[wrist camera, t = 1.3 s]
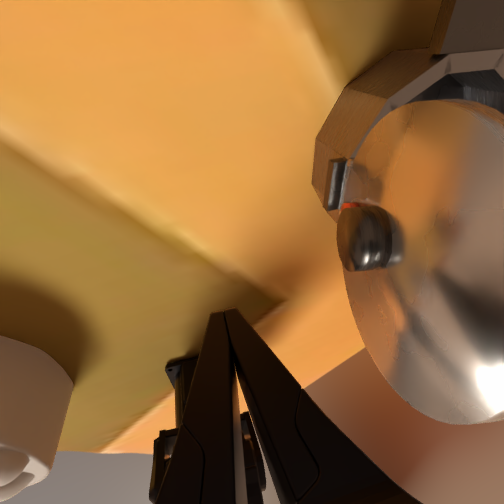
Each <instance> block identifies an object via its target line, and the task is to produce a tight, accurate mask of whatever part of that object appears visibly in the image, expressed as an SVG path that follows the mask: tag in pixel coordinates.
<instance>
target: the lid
mask: <svg viewBox="0 0 504 504" xmlns="http://www.w3.org/2000/svg"><path fill="white" fill-rule="evenodd" d="M337 246H338V252H339V256H340V259H341V261H342V266H343V273H344V280H345V285H346V290H347V294H348V298H349V303H350V306H351V309H352V313H353V316H354V319H355V322H356V325H357V328H358V330H359V332H360V335H361V337H362V340H363V342H364V344H365V346H366V348H367V350H368V352H369V354H370V356H371V358H372V359H373V361H374V363H375V364H376V366H377V367H378V369H379V371H380V372H381V374H382V375H383V377H384V378H385V379H386V380H387V382H388V383H389V384H390V386H391V387H392V388H393V389H394V390H395V391H396V392H397V393H398V394H399V395H400V396H401V397H402V398H403V399H404V400H405V401H406V402H408V403H409V404H410V405H411V406H412V407H414V408H415V409H417V410H418V411H420V412H421V413H423V414H424V415H426V416H428V417H431V418H433V419H435V420H437V421H441V422H445V423H449V424H477V423H486V422H496V421H500V420H504V114H503V113H501V112H499V111H498V110H496V109H494V108H491V107H489V106H486V105H484V104H481V103H478V102H475V101H469V100H463V99H443V100H429V101H416V102H412V103H409V104H405V105H402V106H400V107H398V108H397V109H395V110H393V111H391V112H390V113H388V114H387V115H386V116H385V117H383V118H382V119H381V120H380V121H379V122H378V123H377V124H376V125H375V126H374V127H373V128H372V130H371V131H370V133H369V134H368V135H367V137H366V138H365V140H364V141H363V143H362V145H361V147H360V149H359V150H358V153H357V155H356V157H355V158H354V157H353V158H349V159H348V162H347V168H346V174H345V180H344V185H343V191H342V197H341V203H340V209H339V214H338V223H337Z"/></svg>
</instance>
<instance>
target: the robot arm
mask: <svg viewBox="0 0 504 504" xmlns="http://www.w3.org/2000/svg"><path fill="white" fill-rule="evenodd" d="M233 359H234V360H233ZM234 364H235V365H234ZM235 369H236V370H235ZM165 371H166V373H167V375H168V377H169V379H170V381H171V383H172V385H173V387H174V389H175V418H176V428H175V429H171V430H161V431H160V433H159V437H158V438H157V439H155V440H154V453H153V467H152V475H151V482H150V489H149V500H150V501H151V502H152V503H153V504H263V497H262V491H265V489H266V477H265V469H264V463H263V459H262V454H261V451H260V448H259V444H258V441H257V438H256V434H255V431H254V427H255V430H256V433H257V436H258V439H259V442H260V445H261V448H262V451H263V453H264V456H265V460H266V463H267V466H268V468H269V471H270V474H271V477H272V480H273V483H274V486H275V489H276V492H277V495H278V498H279V501H280V503H281V504H423V503H421V502H420V501H418V500H417V499H415V498H414V497H412V496H411V495H410V494H409V493H407V492H406V491H405V490H404V489H402V488H401V487H400V486H399V485H398V484H396V483H395V482H394V481H393V480H392V479H391V478H390V477H389V476H388V475H386V474H385V473H384V472H383V471H382V470H381V469H380V468H379V467H378V466H377V465H376V464H375V463H374V462H373V461H372V460H371V459H370V458H369V457H368V456H367V455H366V454H365V453H364V452H363V451H362V450H361V449H359V448H358V447H357V446H356V445H355V444H354V443H353V442H352V441H351V440H350V439H349V438H348V437H347V436H346V435H345V434H344V433H343V432H342V431H341V430H340V429H339V428H338V427H337V426H336V425H335V424H334V423H333V422H332V421H331V420H330V419H329V418H328V417H327V416H326V415H325V413H324V412H323V411H322V410H321V409H320V408H319V407H318V405H317V404H316V403H315V402H314V401H313V400H312V399H311V397H310V396H309V395H308V394H307V392H306V391H305V390H304V389H301V385H300V384H299V383H298V382H297V381H296V379H295V378H294V377H293V376H292V374H291V373H290V372H289V371H288V370H287V368H286V367H285V366H284V365H283V364H282V362H281V361H280V360H279V359H278V358H277V356H276V355H275V354H274V353H273V351H272V350H271V349H270V348H269V347H268V345H267V344H266V343H265V342H264V341H263V339H262V338H261V337H260V336H259V335H258V333H257V332H256V331H255V330H254V328H253V327H252V326H251V325H250V324H249V322H248V321H247V320H246V319H245V318H244V316H243V315H242V314H241V313H240V312H239V310H238V309H237V308H236V307H233V308H228V309H225V310H224V312H223V311H222V310H220V311H216V312H212V313H211V314H210V317H209V321H208V325H207V328H206V332H205V336H204V339H203V343H202V347H201V350H200V354H199V357H195V358H191V359H187V360H184V361H180V362H176V363H172V364H168V365H166V367H165ZM236 373H237V376H238V380H239V383H240V386H241V389H242V392H243V395H244V398H245V401H246V404H247V406H248V409H249V411H246V412H243V413H242V414H240V409H239V398H238V386H237V377H236ZM249 412H250V414H249ZM250 415H251V418H252V421H253V424H254V427H253V424H252V421H251V418H250ZM171 454H172V455H171ZM170 455H171V458H170Z"/></svg>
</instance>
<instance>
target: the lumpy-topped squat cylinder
mask: <svg viewBox="0 0 504 504" xmlns="http://www.w3.org/2000/svg"><path fill="white" fill-rule="evenodd" d="M72 390H73V382H72V380H71V378H70V377H69V376H68V374H67V373H66V372H65V370H64V369H63V368H62V367H61V366H60V365H59V364H58V363H57V362H56V361H55V360H54V359H53V358H52V357H51V356H49V355H48V354H47V353H45V352H44V351H42V350H41V349H39V348H36V347H34V346H31V345H29V344H26V343H23V342H20V341H17V340H14V339H11V338H8V337H4V336H0V502H2V501H5V500H7V499H9V498H11V497H13V496H15V495H16V494H17V493H19V492H20V491H21V490H22V489H24V488H25V487H26V486H30V485H33V484H36V483H38V482H40V481H42V480H43V479H44V478H46V477H47V476H48V474H49V473H50V471H51V468H52V465H53V462H54V458H55V454H56V450H57V447H58V443H59V439H60V435H61V432H62V428H63V424H64V420H65V417H66V413H67V409H68V405H69V402H70V398H71V394H72Z"/></svg>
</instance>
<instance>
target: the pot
mask: <svg viewBox="0 0 504 504" xmlns="http://www.w3.org/2000/svg"><path fill="white" fill-rule="evenodd" d="M443 99H463V100H469V101H475V102H478V103H481V104H484V105H486V106H489V107H491V108H494V109H496V110H498V111H499V112H501V113H503V114H504V0H442V4H441V7H440V11H439V14H438V18H437V21H436V25H435V28H434V32H433V35H432V39H431V42H430V46H429V48H422V49H410V50H398V51H392V52H391V53H389V54H388V55H387V56H385V57H384V58H383V59H382V60H380V61H379V62H378V63H376V64H375V65H374V66H372V67H371V68H370V69H368V70H367V71H366V72H364V73H363V74H362V75H360V76H359V77H358V78H357V79H355V80H354V81H353V82H351V83H350V84H349V85H347V86H346V87H345V88H344V90H343V92H342V93H341V95H340V97H339V99H338V100H337V102H336V104H335V106H334V107H333V109H332V111H331V113H330V114H329V116H328V118H327V120H326V121H325V123H324V125H323V127H322V128H321V130H320V132H319V134H318V135H317V137H316V142H315V153H314V164H313V175H312V185H313V187H314V189H315V191H316V193H317V195H318V196H319V198H320V200H321V202H322V204H323V207H324V208H325V210H326V211H327V213H328V214H329V215H330V216H331V217H332V218H333V219H334V221H335V222H336V223H338V214H339V209H340V203H341V197H342V191H343V185H344V180H345V174H346V168H347V162H348V159H349V158H353V157H354V158H355V157H356V155H357V153H358V150H359V149H360V147H361V145H362V143H363V141H364V140H365V138H366V137H367V135H368V134H369V133H370V131H371V130H372V128H373V127H374V126H375V125H376V124H377V123H378V122H379V121H380V120H381V119H382V118H383V117H385V116H386V115H387V114H388V113H390V112H391V111H393V110H395V109H397V108H398V107H400V106H402V105H405V104H409V103H412V102H416V101H429V100H443Z"/></svg>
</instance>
